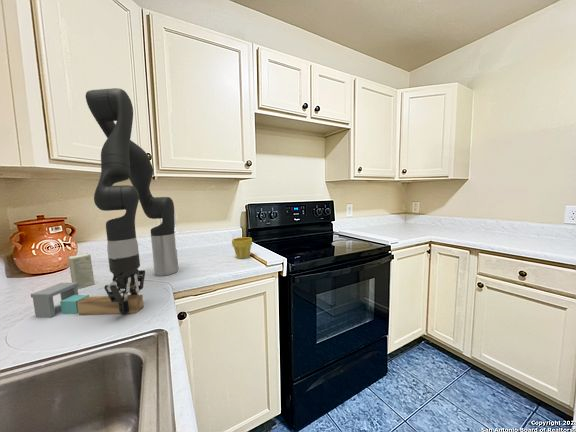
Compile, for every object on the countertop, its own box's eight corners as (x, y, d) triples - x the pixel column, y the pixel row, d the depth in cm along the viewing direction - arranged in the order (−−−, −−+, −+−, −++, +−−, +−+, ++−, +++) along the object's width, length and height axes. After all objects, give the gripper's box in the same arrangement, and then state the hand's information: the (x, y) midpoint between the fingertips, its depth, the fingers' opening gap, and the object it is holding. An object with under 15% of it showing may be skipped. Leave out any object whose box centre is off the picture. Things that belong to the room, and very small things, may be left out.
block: (75, 307, 78) (74, 294, 78) (90, 307, 78) (89, 294, 77) (61, 314, 74) (60, 301, 73) (77, 314, 73) (75, 301, 73)
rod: (88, 309, 76) (86, 296, 75) (143, 306, 76) (142, 294, 75) (78, 314, 72) (77, 301, 72) (136, 312, 72) (135, 299, 72)
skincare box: (92, 282, 100) (88, 252, 98) (95, 284, 97) (91, 254, 96) (71, 287, 95) (67, 256, 94) (74, 289, 92) (70, 258, 91)
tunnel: (64, 303, 81) (61, 282, 80) (80, 303, 80) (78, 282, 79) (34, 317, 72) (30, 294, 71) (52, 317, 71) (49, 294, 71)
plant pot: (235, 254, 135) (234, 237, 134) (254, 254, 135) (253, 236, 134) (230, 260, 125) (229, 241, 124) (250, 259, 124) (249, 240, 123)
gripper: (129, 248, 80) (134, 298, 81) (90, 261, 65) (98, 322, 67) (151, 247, 79) (156, 299, 81) (117, 260, 65) (124, 322, 67)
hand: (129, 309), depth 74 cm, fingers closed on rod, 3 cm apart
